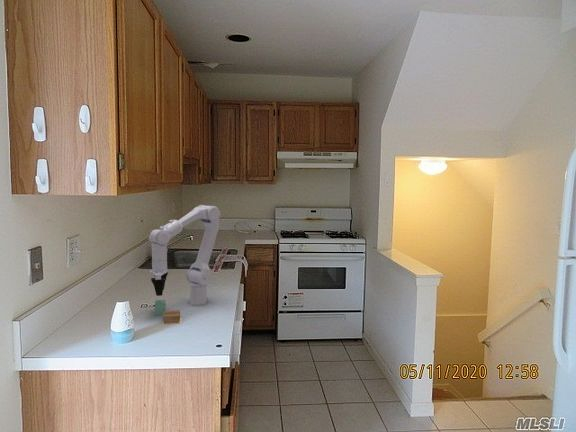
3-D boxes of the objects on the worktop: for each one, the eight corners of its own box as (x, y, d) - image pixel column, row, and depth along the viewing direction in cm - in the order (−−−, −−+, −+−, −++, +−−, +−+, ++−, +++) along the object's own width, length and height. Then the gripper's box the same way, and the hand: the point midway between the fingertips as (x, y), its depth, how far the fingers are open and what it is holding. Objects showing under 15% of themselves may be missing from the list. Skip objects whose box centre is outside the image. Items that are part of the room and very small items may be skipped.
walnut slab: (164, 318, 155) (164, 310, 155) (180, 317, 156) (180, 309, 156) (163, 323, 149) (163, 316, 149) (179, 322, 150) (179, 315, 150)
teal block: (155, 312, 162) (155, 300, 161) (166, 311, 163) (165, 299, 162) (154, 315, 158) (154, 303, 157) (165, 314, 159) (165, 302, 158)
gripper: (151, 256, 164) (151, 288, 166) (146, 263, 150) (147, 298, 152) (168, 255, 166) (169, 287, 167) (166, 263, 152) (166, 297, 153)
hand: (160, 292), depth 159 cm, fingers open, 7 cm apart
